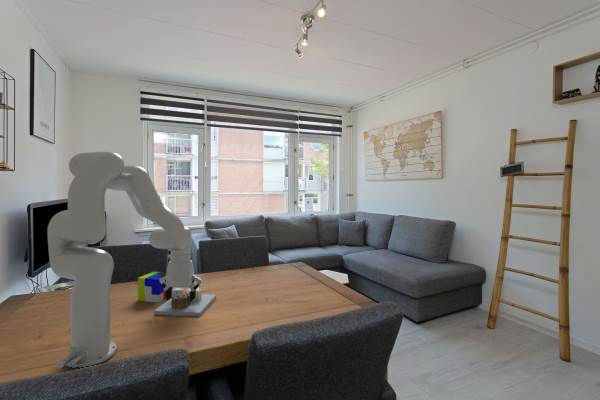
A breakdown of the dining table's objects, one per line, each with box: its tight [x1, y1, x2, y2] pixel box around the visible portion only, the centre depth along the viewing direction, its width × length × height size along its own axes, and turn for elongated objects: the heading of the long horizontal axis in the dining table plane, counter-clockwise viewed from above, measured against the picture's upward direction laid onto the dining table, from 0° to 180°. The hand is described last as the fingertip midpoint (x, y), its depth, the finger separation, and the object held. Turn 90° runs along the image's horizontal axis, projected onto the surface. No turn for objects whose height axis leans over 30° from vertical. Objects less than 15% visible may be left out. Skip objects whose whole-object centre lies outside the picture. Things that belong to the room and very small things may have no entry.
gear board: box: [153, 287, 217, 317], centre depth 124 cm, size 19×18×8 cm
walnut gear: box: [172, 293, 189, 309], centre depth 120 cm, size 6×6×4 cm
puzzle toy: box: [137, 271, 174, 303], centre depth 133 cm, size 10×10×10 cm
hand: (180, 299), depth 120 cm, fingers open, 9 cm apart
